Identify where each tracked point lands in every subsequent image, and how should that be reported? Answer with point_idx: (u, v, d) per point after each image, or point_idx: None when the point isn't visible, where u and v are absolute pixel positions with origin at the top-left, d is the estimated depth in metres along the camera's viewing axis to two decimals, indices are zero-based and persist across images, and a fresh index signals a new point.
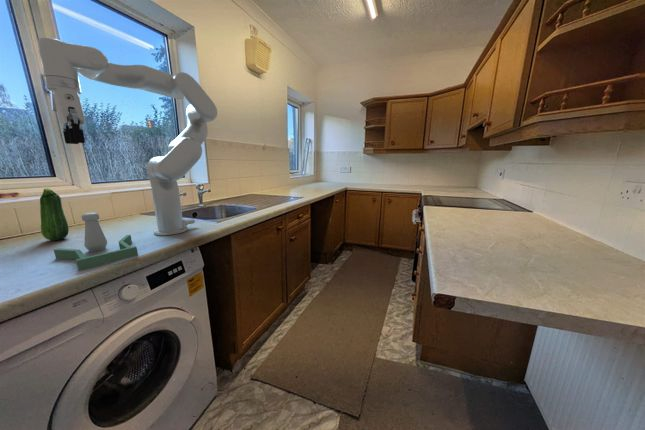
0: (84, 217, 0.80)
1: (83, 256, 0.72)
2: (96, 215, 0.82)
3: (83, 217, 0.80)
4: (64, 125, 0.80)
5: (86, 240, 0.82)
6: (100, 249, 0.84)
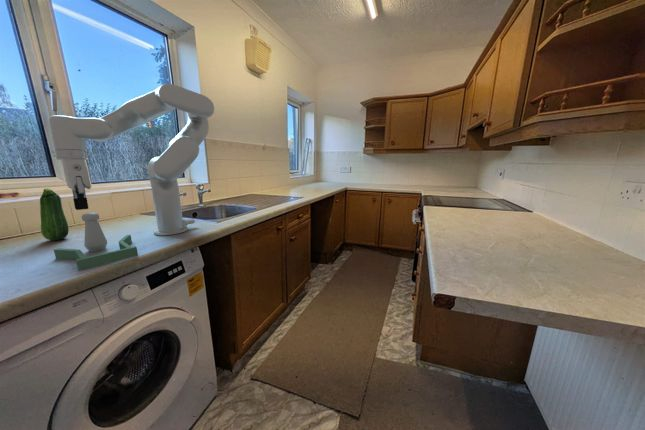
0: (84, 217, 0.80)
1: (83, 256, 0.72)
2: (96, 215, 0.82)
3: (83, 217, 0.80)
4: (73, 190, 0.85)
5: (86, 240, 0.82)
6: (100, 249, 0.84)
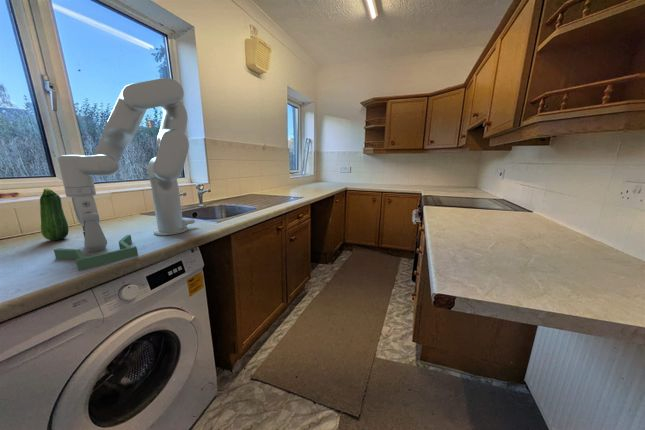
0: (84, 217, 0.80)
1: (83, 256, 0.72)
2: (96, 215, 0.82)
3: (83, 217, 0.80)
4: (83, 224, 0.88)
5: (86, 240, 0.82)
6: (100, 249, 0.84)
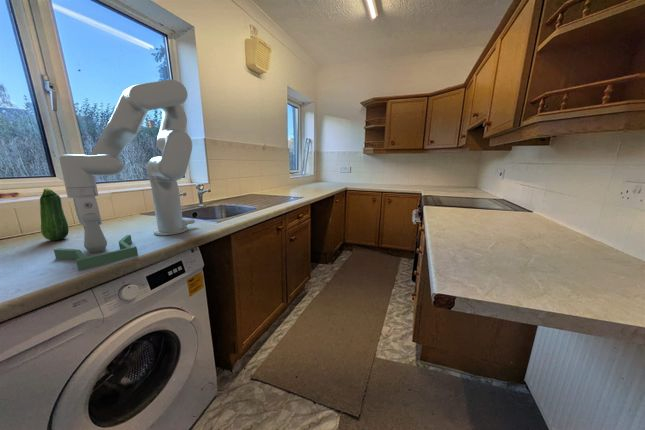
0: (84, 218, 0.79)
1: (83, 256, 0.72)
2: (96, 216, 0.81)
3: (83, 218, 0.79)
4: (84, 226, 0.85)
5: (86, 241, 0.81)
6: (100, 250, 0.83)
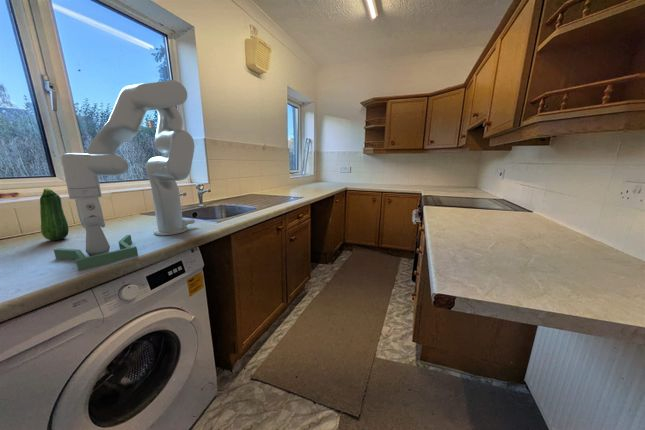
0: (85, 222, 0.75)
1: (83, 256, 0.72)
2: (98, 219, 0.77)
3: (84, 221, 0.75)
4: None
5: (87, 245, 0.77)
6: None
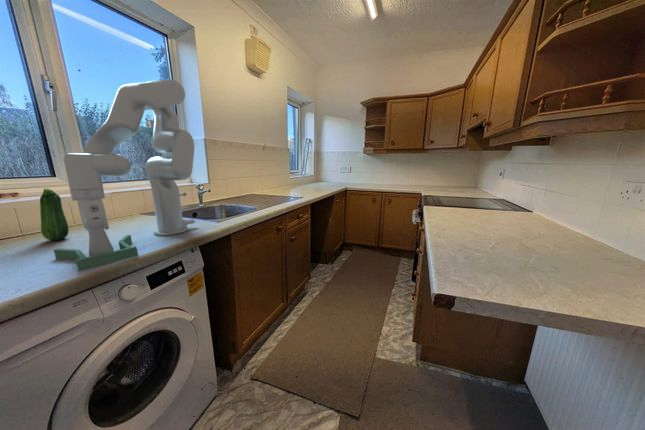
0: (88, 224, 0.73)
1: (83, 256, 0.72)
2: (101, 221, 0.74)
3: (87, 224, 0.73)
4: None
5: (90, 248, 0.74)
6: None
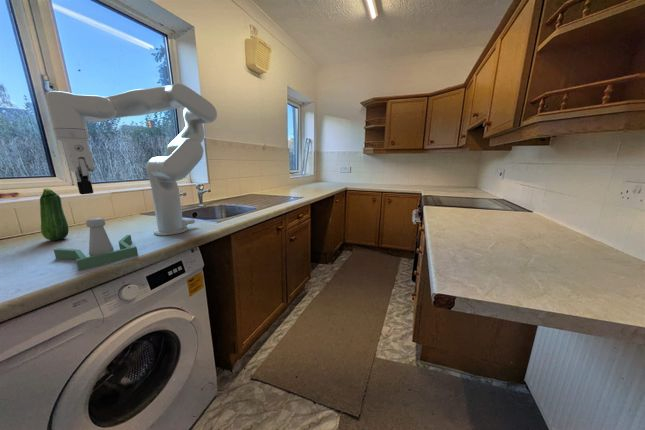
0: (89, 223, 0.73)
1: (83, 256, 0.72)
2: (102, 221, 0.75)
3: (87, 223, 0.73)
4: (76, 173, 0.80)
5: (91, 248, 0.74)
6: None
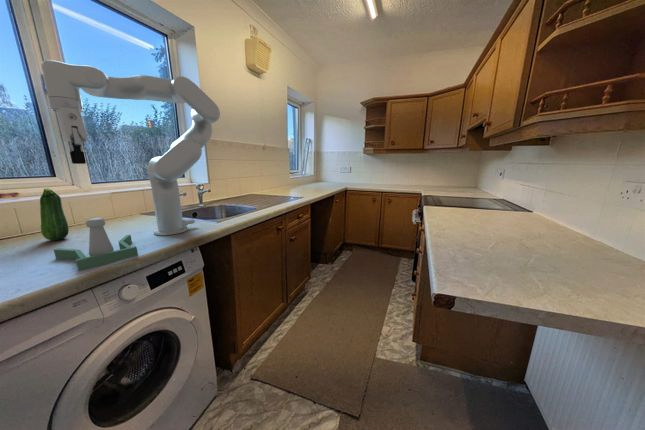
0: (88, 223, 0.73)
1: (83, 256, 0.72)
2: (101, 221, 0.75)
3: (87, 223, 0.73)
4: (69, 143, 0.82)
5: (90, 248, 0.74)
6: None
